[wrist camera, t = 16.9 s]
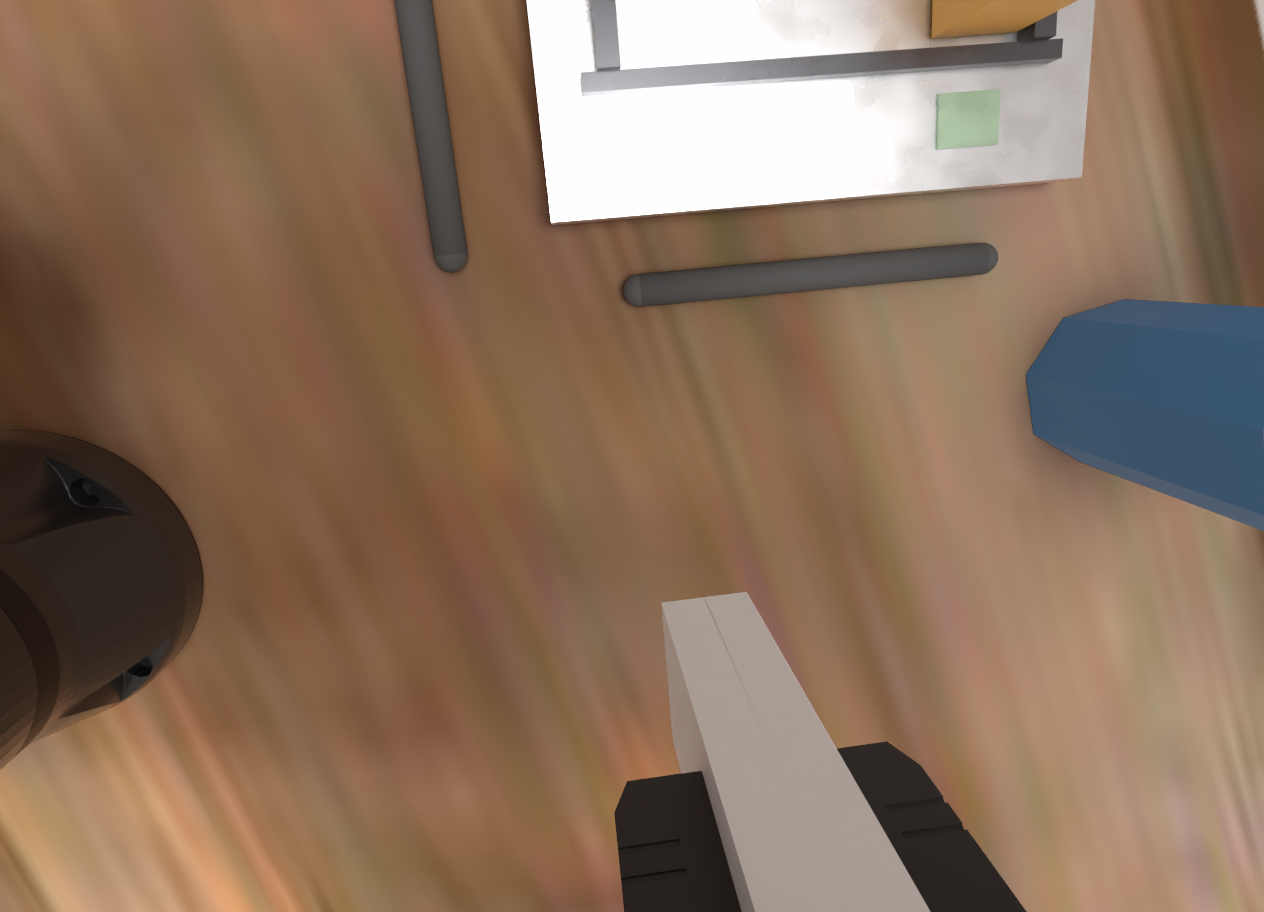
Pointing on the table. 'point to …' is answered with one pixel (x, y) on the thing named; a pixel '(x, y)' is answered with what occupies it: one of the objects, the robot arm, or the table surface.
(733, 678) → the robot arm
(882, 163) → the panel
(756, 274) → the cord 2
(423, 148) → the rounded gray dowel
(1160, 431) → the water bottle
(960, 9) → the matte orange cube
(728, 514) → the table surface
